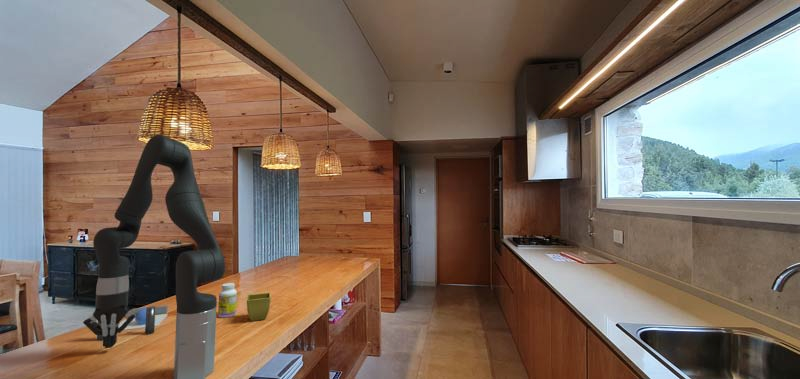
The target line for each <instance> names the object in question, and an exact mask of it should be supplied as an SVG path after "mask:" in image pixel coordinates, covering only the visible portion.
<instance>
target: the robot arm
mask: <svg viewBox="0 0 800 379" xmlns="http://www.w3.org/2000/svg"><path fill="white" fill-rule="evenodd" d="M157 165H159V166H163V167H166V168H169V169H170V170H171V172H172V175H173V182H172V184H171V185H170V187H169V188H168V190H167V191H166V194H165V197H164V199H165V205H166V209H167V214H168V216H169V218H170V220H171V221H172V222H173V224H175V226H176V227H178V228H179V229H180V230H181V231H182V232H184V233H185V234H186V235H187V236H188V237H190V238H191V239H192V241H194V242H195V244H196V246H197V247H198V249H196V250H187V251H183V252H181V253H180V254H179V256H178V257H177V259H176V263H175V302H176V316H175V317H176V320H175V339H174V357H173V358H174V359H173V361H174V362H173V364H174V365H173V379H206V377H207V376H209V375H210V374H212V373H213V372H214V369H215V359H216V358H215V355H216V326H217V306H218V305H217V303H218V300H217V299H218V298H217V296H216V295H214V294H211V293H205V292H204V293H203V292H199V291H198V288H197V286H198V285H200V284H204V283H205V284H206V283H210V282H214V281H218V280H221V279H222V278H223V277H224V275H225V274H226V273H225V272H226V261H225V257H224V254H223V251H222V248H221V247H220V244H219V242H218V240H217V239H216V235H215V234H214V231H213V229H212V227H211V226H212V225H211V222H210V220H209V217H208V214H207V210H206V207H205V204H204V203H205V202H204V200H203V197H202V195H201V191H200V188H199V186H198V183H197V179H196V178H197V177H196V174H195V170H194V164H193V157H192V153H191V149H190V148H189V146H187V144H185V143H184V142H181V141H179V140H177V139H174V138H171V137H168V136H166V135H164V134H163V135H162V134H156V135H153V136H151V137H150V138H149V139H148V141H147V142H146V144H145V146H144V148H143V150H142V153H141V155H140V157H139V160H138V163H137V166H136V169H135V171H134V174H133V177H132V180H131V182H130V185H129V187H128V189H127V191H126V193H125V195H124V197H123V198H122V200H121V202H120V203H119V206H118V207H117V209H116V210H115V212H114V219H115V220H116V221H118V222H119V225H118V226H115V227H104V228H101V229H99V230H98V231H97V232H96V234H95V235H94V237H93V240H92V241H93V242H92V243H93V244H92V245H93V249H94V252H95V256H96V259H97V262H98V276H97V278H98V279H97V283H96V289H95V290H96V291H95V305H94V306H95V309H94V312H93V313H92V316H90V317H88V318H86V319H84V320H83V322H82V323H83V324H84V325H85V326H86V327H87V328H88V330H90V331H91V333H93V334H94V335H95V336H97V335H102V336H103V340H102V346H103V347H104V349H109V348H110V349H112V348H113V347H114V345H116V344H117V337H118V336H117V334H120V333H122V332H123V331H125V330H124V329H125V328H126V327H127V326H128V325H129V324H130V322H131V321H132V320H133V319H134V318H135V317H136V316H137V313H132V312H131V310H130V308H129V305H128V304H129V290H130V282H129V281H130V279H129V278H130V277H129V272H130V271H129V269H130V267H129V266H130V260H129V258H128V257H127V256H121V254H120V250H121V249H125V248H128V247H130V246H132V245H133V244H134V243H135V242H136V241H137V238H138V237H139V234H140V230H141V226H142V220H143V218H144V217H145V215H146V214H147V212H148V210H149V208H150V207H151V205H152V202H153V197H154V196H153V186H152V175H153V172H154V169H155V167H156V166H157ZM124 318H125V319H126V321H125V322H124V323H123V324H122V326H121V327H119V324H120V323H121V322H122V321H123V320H124ZM98 322H99V323H100V324H101V326H100V325H99V324H98ZM118 327H119V328H118Z"/></svg>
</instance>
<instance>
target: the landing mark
mask: <svg viewBox="0 0 800 379" xmlns="http://www.w3.org/2000/svg"><path fill="white" fill-rule="evenodd" d="M168 315H169V314H168V313H166V314H157V315H155V327H158V326H159V325H160V324H161V323H162V322H163V321H164V320H165V318H167V316H168ZM125 321H126V318H125V319H122V320H121V321H120V324H119V327H121V326H122V324H123V323H124V322H125ZM119 327H118V328H119ZM135 329H136V330H137V329H145V324H139V323H137V322H136V320H135V318H134V319H133V320H132V321H131V322H130V324H129V325H128V326H127V327H126V328H125V329H124V330H123V331H128V330H135Z"/></svg>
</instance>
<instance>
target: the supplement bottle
mask: <svg viewBox="0 0 800 379" xmlns="http://www.w3.org/2000/svg"><path fill="white" fill-rule="evenodd" d="M221 289H222V290H220V292H218V305H217V306H218V311H217V317H219V318H230V317H233V316H235V315H236V314H237V301H238V300H237V298H238V291H237V290H236V288H235V283H234V282H228V283H223V284H221Z"/></svg>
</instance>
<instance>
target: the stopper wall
mask: <svg viewBox="0 0 800 379" xmlns="http://www.w3.org/2000/svg"><path fill="white" fill-rule="evenodd" d="M168 306H169V305H158V306H155V315H162V314H168ZM142 308H143V307H137V308H132V309H131V310H130V312H132V313H137V312H138V311H139V310H140V309H142Z"/></svg>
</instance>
